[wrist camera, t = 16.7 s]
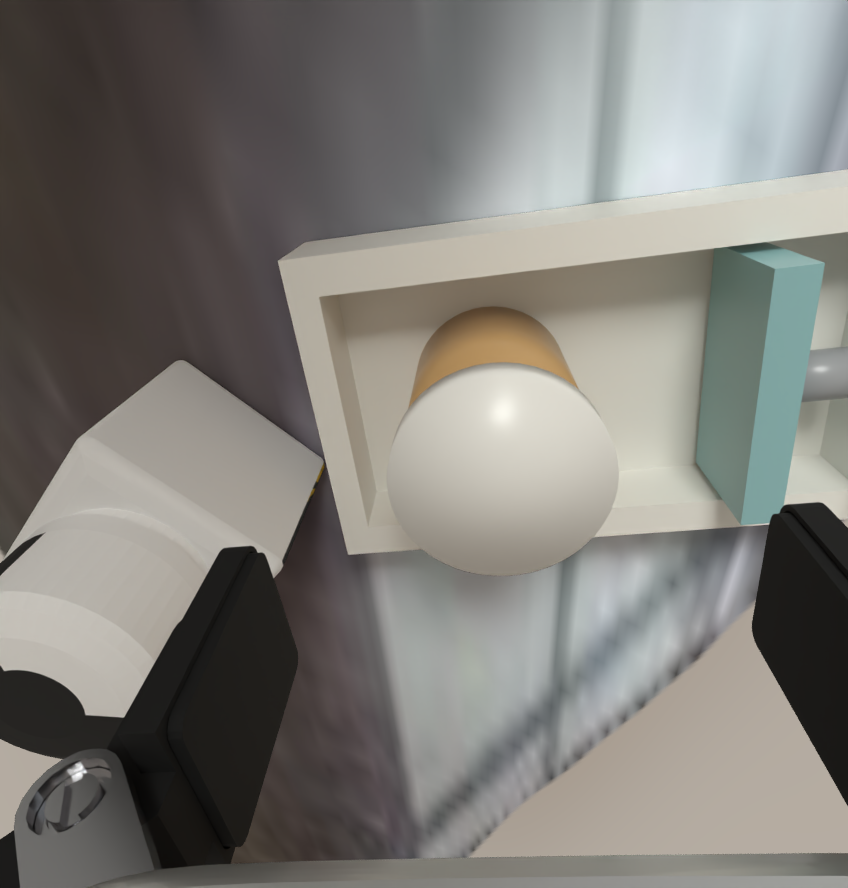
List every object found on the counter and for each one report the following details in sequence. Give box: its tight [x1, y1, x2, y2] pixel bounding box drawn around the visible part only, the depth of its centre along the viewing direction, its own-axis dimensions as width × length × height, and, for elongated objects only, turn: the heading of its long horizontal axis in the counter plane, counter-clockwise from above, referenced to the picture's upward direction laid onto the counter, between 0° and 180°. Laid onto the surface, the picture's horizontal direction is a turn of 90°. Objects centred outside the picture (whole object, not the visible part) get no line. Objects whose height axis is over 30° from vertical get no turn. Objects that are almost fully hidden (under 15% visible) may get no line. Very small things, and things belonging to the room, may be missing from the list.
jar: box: [387, 306, 619, 576], centre depth 18 cm, size 6×6×8 cm
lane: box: [278, 169, 848, 555], centre depth 19 cm, size 11×19×6 cm, turn 98°
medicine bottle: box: [0, 360, 325, 759], centre depth 20 cm, size 7×7×12 cm
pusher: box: [696, 242, 848, 525], centre depth 18 cm, size 8×4×4 cm, turn 8°
